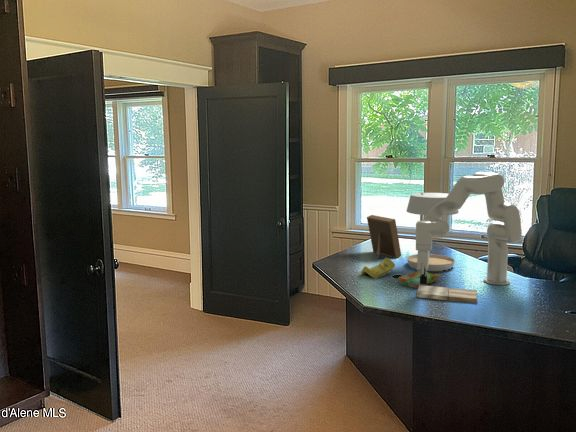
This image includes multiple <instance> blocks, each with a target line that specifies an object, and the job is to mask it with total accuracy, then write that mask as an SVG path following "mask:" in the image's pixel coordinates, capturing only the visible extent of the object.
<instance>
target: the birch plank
mask: <svg viewBox="0 0 576 432" xmlns="http://www.w3.org/2000/svg"><path fill="white" fill-rule="evenodd" d="M449 288H450V287H443V286H432V285H419V287H418V288H417V291H416V298H421V299H433V300H443V301H448V294H449Z"/></svg>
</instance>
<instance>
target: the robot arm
mask: <svg viewBox="0 0 576 432" xmlns="http://www.w3.org/2000/svg"><path fill="white" fill-rule="evenodd" d="M504 185H505V178H504V176H503V175H501V174H499V173H495V172H487V171H486V172H485V171H478V172H474V173H473V174H472V175H465V176H464V175H463V176H461V177H459V179H458V180H457V181H456V183H455V184H454V186H453V187H452V188H451V190H450V191H449V193H447V194H448V196H447V197H446V198H445V199H444V200H443V201H441V202H440V203H438V204H437V205H435V206H434V207H433V208H432V209H431V210H430V211H429V212H428V213H427V215H424V217H423V221H420V220H419V221H418V220H417V222H416V223H415V250H416V251H417V254H418V255H417V269H416V270H417V271H416V272H418V271H420V284H427V272H428V271H427V270H428V266H429V254H430V251H432V250H433V236H437V237H438V236H440V237H441V236H445V235H446V234H448V233H449V230H450V225H449V223H448V222H447V221H445V220H442V219H441V218H442V217H444V216H446V215H445V214H447V213H449V212H453V211H456V210H458V211H459V210H460V209H462V207H463V206H464V204H465V203H466V200H467V199H468V198H469V196H470V195H474V196H475V195H476V196H477V195H478V196H480V195H484V198H485V203H486V211H487V216H488V218H489V219H490V220H493V221H494V222H491V223H490V224H489V225H488V227H487V229H486V235H487V243H488V246H487V247H488V248H487V270H486V277H484V278H483V282H484V283H487V284H489V285H496V286H505V285H506V286H507V285H509V284H510V279H508V278H507V277H508V259H509V258H508V257H509V247H508V244H511V245H512V244H517V243H519V241H521V238H522V222H521V213H520V210H519V209H518V207H517V206H516V205H514V204H512V203H508V202H506V201H505V197H504V192H503V187H504ZM427 285H428V284H427Z"/></svg>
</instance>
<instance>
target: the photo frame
mask: <svg viewBox="0 0 576 432" xmlns="http://www.w3.org/2000/svg"><path fill="white" fill-rule="evenodd" d="M366 219H367V225H368V231H369V236H370V241H371V247H372V251H373V253H376V258H377V259H379V258H380V255H383V256H387V257H391V258H394V259H399V258H400V257H402V251H401V244H400V240H399V234H398V229H397V223H396V221H397V220H396V219H395V218H390V217H384V216H379V215H375V214H374V215H373V214H371V215H368V216H367V217H366Z"/></svg>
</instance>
